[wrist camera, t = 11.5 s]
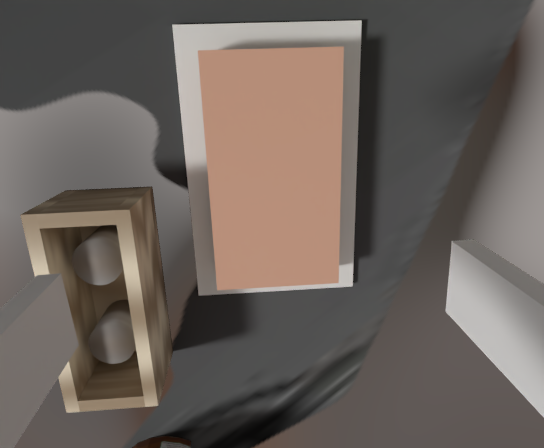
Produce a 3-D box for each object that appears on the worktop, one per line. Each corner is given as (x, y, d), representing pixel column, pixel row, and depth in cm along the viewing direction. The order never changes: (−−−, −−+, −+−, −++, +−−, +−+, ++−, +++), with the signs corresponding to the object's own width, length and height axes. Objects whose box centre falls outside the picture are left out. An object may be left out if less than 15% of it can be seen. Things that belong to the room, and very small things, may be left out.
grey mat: (173, 25, 30) (172, 24, 29) (359, 21, 31) (361, 20, 30) (199, 293, 37) (198, 295, 36) (351, 283, 37) (352, 286, 37)
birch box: (65, 190, 33) (20, 214, 26) (152, 186, 33) (129, 209, 27) (97, 356, 38) (66, 412, 31) (173, 351, 38) (158, 405, 32)
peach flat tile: (202, 54, 30) (197, 50, 27) (334, 50, 31) (343, 46, 28) (219, 274, 36) (217, 290, 33) (331, 268, 36) (338, 282, 33)
